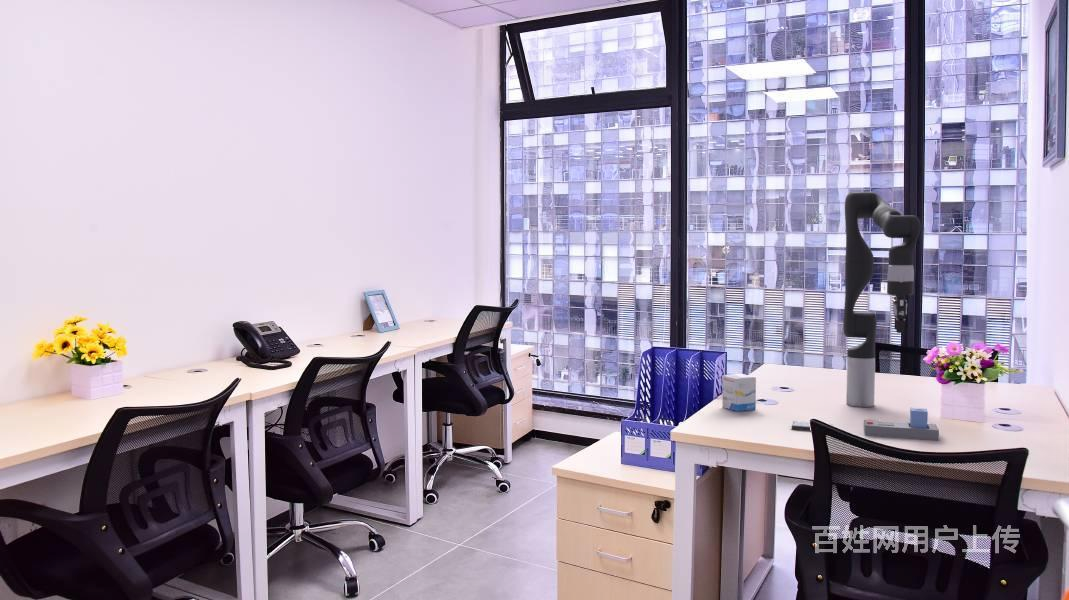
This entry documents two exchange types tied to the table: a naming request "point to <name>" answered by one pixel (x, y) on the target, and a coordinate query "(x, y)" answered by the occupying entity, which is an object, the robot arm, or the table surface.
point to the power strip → (900, 430)
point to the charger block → (918, 418)
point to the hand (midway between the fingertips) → (899, 331)
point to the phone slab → (802, 425)
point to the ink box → (739, 392)
